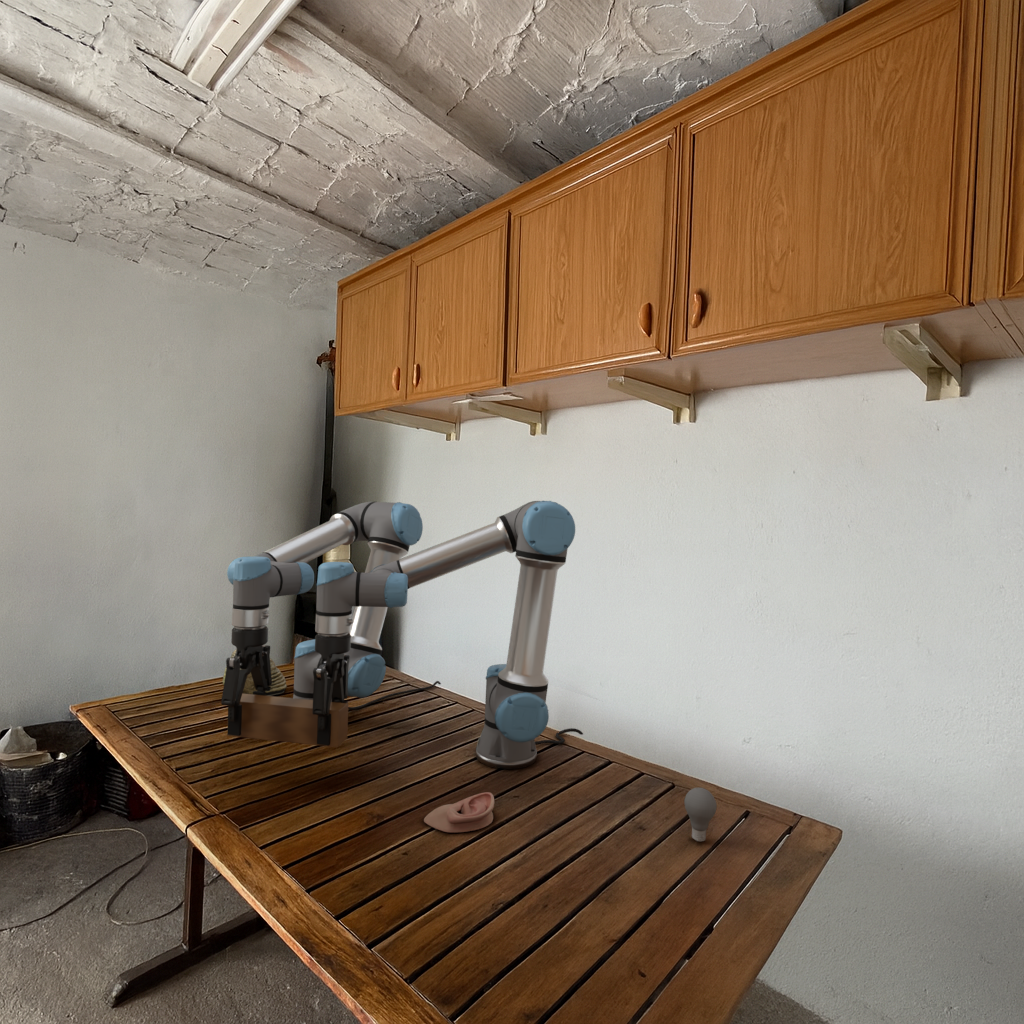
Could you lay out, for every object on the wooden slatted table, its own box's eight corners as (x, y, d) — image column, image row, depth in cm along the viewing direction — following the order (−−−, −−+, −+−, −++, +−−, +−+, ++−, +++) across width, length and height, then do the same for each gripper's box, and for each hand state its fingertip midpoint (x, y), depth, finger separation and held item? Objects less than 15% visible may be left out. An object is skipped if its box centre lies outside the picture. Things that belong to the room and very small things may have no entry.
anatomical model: (419, 808, 122) (437, 782, 134) (418, 828, 122) (437, 801, 134) (485, 817, 120) (499, 791, 131) (484, 838, 120) (498, 810, 131)
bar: (227, 735, 139) (228, 700, 139) (240, 727, 144) (241, 693, 144) (337, 747, 135) (338, 710, 135) (347, 738, 141) (348, 703, 140)
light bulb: (678, 831, 125) (680, 781, 125) (707, 831, 126) (709, 782, 126) (689, 848, 119) (691, 796, 119) (719, 848, 120) (722, 796, 120)
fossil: (218, 695, 195) (220, 647, 195) (278, 685, 208) (279, 640, 207) (228, 703, 189) (230, 653, 188) (289, 692, 201) (290, 645, 201)
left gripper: (237, 637, 130) (233, 747, 130) (290, 618, 151) (286, 712, 151) (204, 635, 131) (200, 743, 131) (260, 616, 152) (257, 709, 153)
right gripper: (331, 643, 128) (327, 757, 129) (365, 626, 146) (361, 726, 147) (296, 640, 130) (292, 753, 130) (334, 624, 148) (331, 723, 148)
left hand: (246, 726), depth 141 cm, fingers open, 9 cm apart
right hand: (329, 738), depth 138 cm, fingers closed on bar, 5 cm apart
